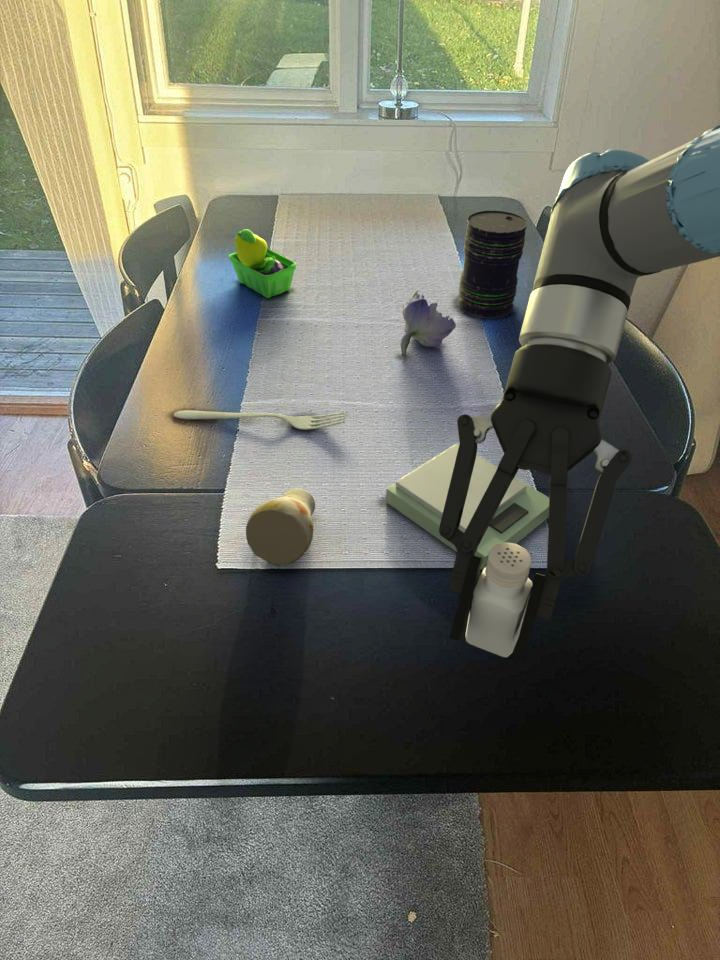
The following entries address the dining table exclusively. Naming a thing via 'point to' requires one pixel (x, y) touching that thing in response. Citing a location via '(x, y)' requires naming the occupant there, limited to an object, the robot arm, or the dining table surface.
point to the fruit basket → (261, 265)
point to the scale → (467, 501)
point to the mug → (282, 527)
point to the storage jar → (491, 263)
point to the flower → (424, 323)
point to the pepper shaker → (500, 600)
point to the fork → (296, 421)
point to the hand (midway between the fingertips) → (487, 646)
